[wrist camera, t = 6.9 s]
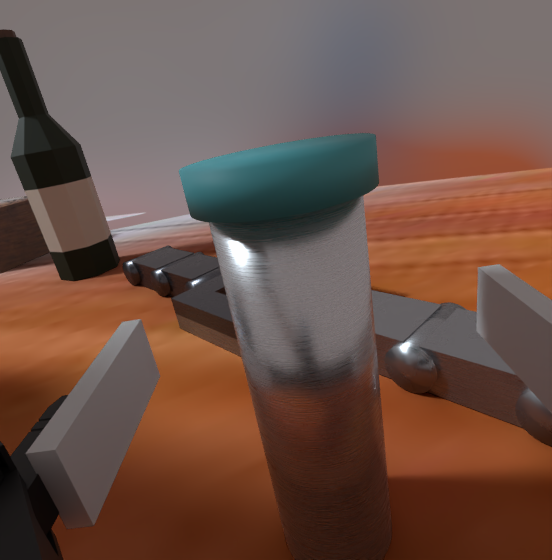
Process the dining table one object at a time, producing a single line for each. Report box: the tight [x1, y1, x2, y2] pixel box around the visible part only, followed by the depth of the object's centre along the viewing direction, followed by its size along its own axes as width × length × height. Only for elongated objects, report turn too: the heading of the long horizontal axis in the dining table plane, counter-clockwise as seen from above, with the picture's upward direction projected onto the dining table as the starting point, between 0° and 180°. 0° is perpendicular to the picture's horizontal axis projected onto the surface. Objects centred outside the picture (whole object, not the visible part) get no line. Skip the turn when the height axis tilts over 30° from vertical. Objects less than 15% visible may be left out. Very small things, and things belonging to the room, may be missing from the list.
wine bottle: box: [0, 30, 120, 281], centre depth 52 cm, size 8×8×30 cm
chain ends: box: [123, 246, 552, 446], centre depth 35 cm, size 12×46×3 cm, turn 45°
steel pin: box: [179, 133, 392, 560], centre depth 14 cm, size 5×5×15 cm
